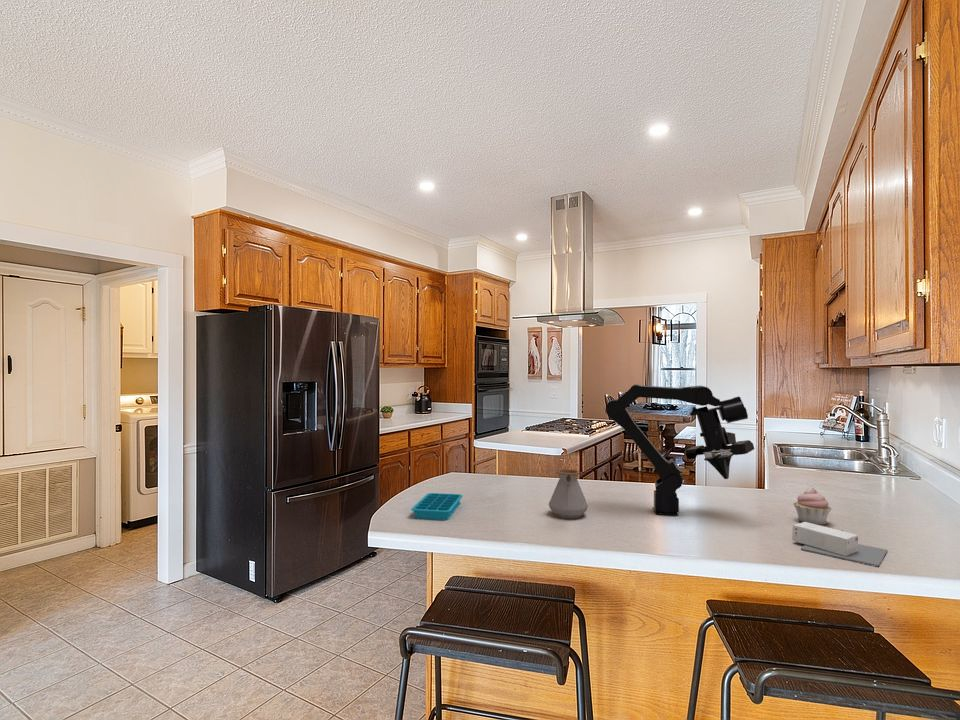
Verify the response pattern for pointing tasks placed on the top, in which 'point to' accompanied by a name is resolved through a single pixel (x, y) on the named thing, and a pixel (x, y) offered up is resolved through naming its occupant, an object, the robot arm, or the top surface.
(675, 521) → the top surface
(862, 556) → the mat
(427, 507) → the ice cube tray
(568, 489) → the coffee pot
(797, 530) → the skincare box
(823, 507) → the cupcake
